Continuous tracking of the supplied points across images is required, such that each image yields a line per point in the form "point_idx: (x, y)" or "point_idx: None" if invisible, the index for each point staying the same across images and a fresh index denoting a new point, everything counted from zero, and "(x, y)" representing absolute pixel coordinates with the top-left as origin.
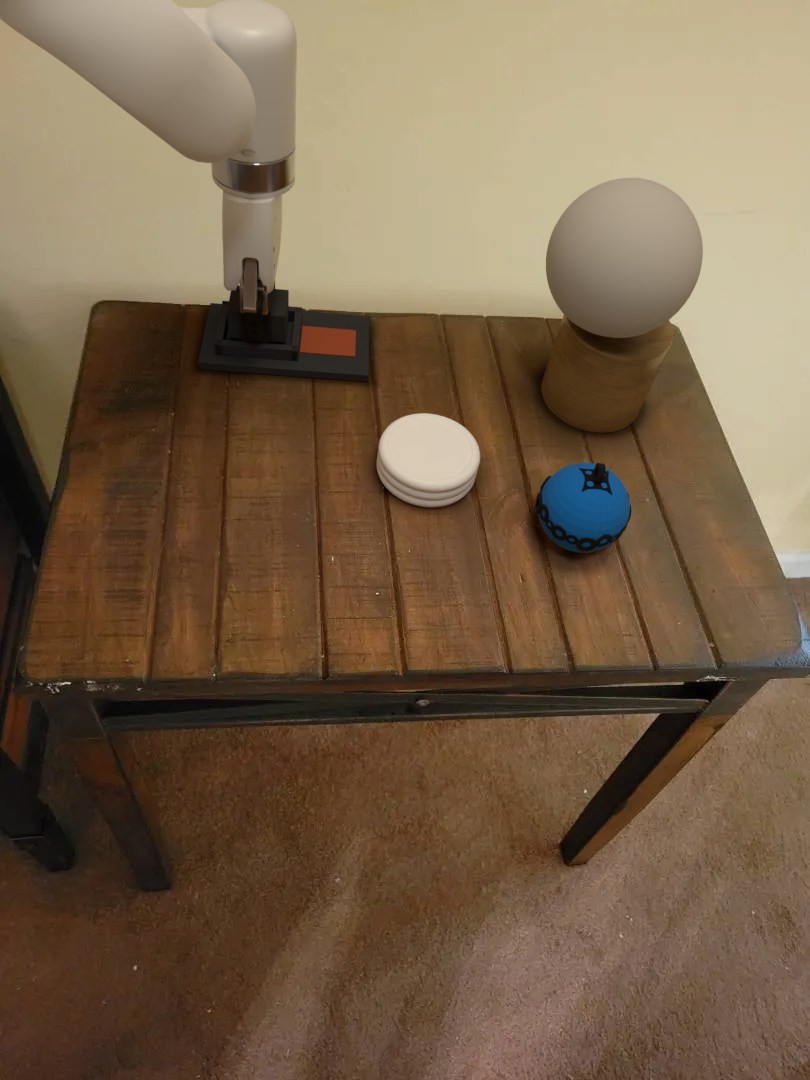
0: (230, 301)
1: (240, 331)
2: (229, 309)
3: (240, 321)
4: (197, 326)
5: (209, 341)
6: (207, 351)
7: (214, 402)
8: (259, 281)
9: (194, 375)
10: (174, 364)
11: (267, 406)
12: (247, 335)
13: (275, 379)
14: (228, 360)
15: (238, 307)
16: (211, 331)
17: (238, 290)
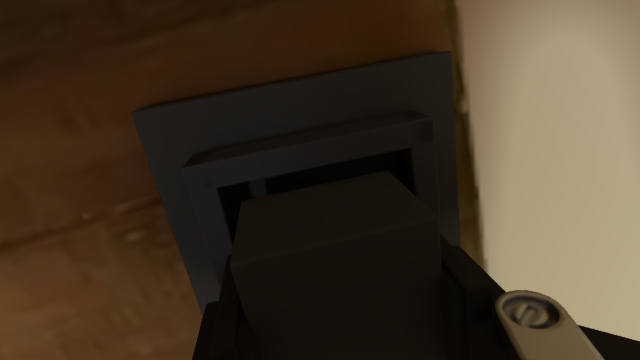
0: (310, 253)
1: (226, 273)
2: (247, 269)
3: (217, 309)
4: (347, 32)
5: (250, 115)
6: (196, 125)
7: (21, 200)
8: (461, 348)
9: (108, 102)
10: (130, 16)
11: (84, 328)
12: (205, 308)
13: (195, 313)
14: (183, 202)
15: (275, 301)
16: (303, 104)
17: (402, 258)
